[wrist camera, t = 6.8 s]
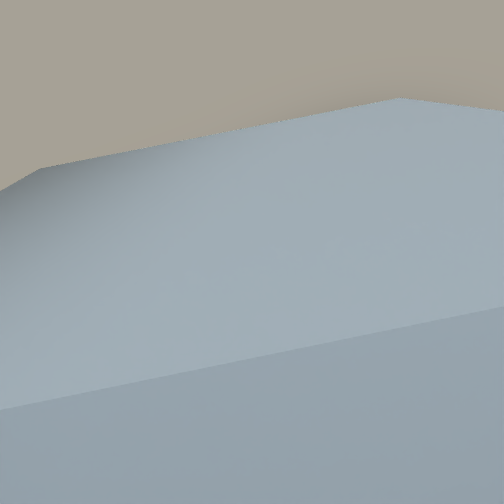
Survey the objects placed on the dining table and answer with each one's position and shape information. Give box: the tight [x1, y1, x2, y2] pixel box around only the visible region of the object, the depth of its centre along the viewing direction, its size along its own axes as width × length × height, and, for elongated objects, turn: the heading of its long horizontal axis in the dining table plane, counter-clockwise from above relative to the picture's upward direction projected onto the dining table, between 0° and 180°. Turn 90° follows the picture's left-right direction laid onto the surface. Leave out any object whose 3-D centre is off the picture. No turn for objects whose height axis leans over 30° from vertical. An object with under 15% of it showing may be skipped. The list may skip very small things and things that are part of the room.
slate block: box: [0, 98, 504, 504], centre depth 8 cm, size 8×8×11 cm
